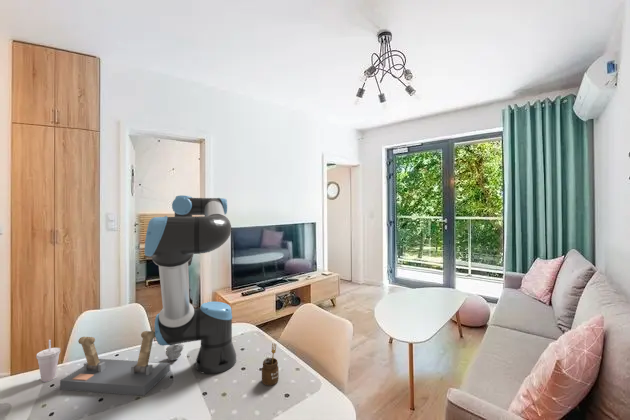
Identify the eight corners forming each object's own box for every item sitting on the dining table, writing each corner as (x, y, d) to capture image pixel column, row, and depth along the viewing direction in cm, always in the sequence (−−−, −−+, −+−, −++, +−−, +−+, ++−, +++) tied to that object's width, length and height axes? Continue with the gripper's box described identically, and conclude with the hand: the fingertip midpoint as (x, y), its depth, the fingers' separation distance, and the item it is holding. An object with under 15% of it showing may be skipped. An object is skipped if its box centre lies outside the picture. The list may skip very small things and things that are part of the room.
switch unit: (169, 370, 107) (169, 356, 107) (144, 395, 93) (144, 378, 93) (96, 366, 110) (96, 352, 110) (60, 389, 96) (60, 373, 96)
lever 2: (150, 372, 101) (158, 331, 106) (146, 373, 99) (154, 331, 103) (136, 371, 102) (144, 330, 106) (131, 372, 100) (140, 331, 104)
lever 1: (105, 366, 104) (95, 335, 100) (99, 371, 101) (90, 340, 97) (91, 365, 104) (81, 334, 100) (85, 370, 102) (75, 339, 98)
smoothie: (45, 385, 98) (45, 344, 98) (31, 383, 100) (30, 343, 99) (65, 374, 105) (65, 336, 104) (51, 372, 106) (51, 334, 106)
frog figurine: (179, 363, 112) (179, 346, 112) (161, 363, 113) (161, 345, 113) (186, 355, 118) (186, 338, 118) (170, 355, 119) (170, 338, 119)
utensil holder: (258, 384, 99) (258, 350, 99) (267, 374, 105) (267, 342, 105) (273, 387, 98) (274, 352, 97) (281, 377, 104) (281, 344, 103)
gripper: (200, 229, 134) (198, 280, 132) (173, 229, 135) (171, 280, 133) (192, 229, 127) (190, 283, 124) (164, 229, 127) (161, 283, 125)
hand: (180, 282), depth 129 cm, fingers closed
